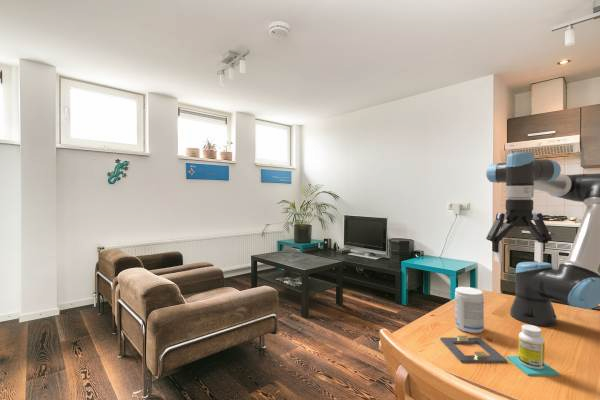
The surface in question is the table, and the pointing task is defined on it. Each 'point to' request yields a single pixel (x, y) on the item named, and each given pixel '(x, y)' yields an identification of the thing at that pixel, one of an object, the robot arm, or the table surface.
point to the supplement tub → (469, 309)
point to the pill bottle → (531, 347)
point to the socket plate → (478, 356)
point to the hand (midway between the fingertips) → (518, 261)
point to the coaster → (533, 372)
